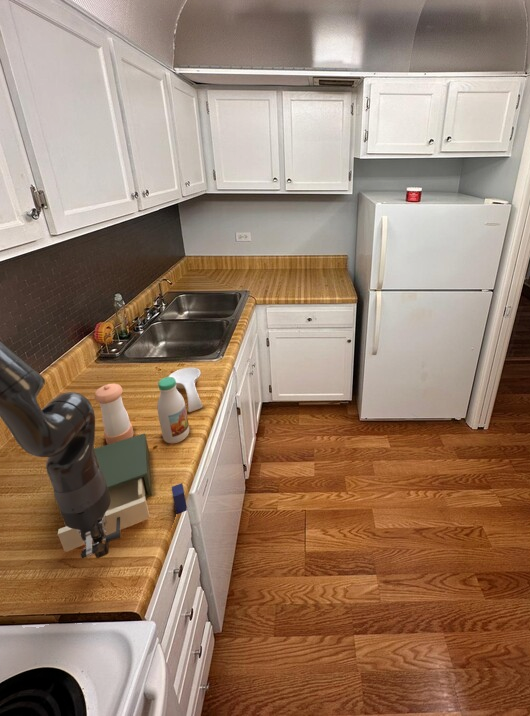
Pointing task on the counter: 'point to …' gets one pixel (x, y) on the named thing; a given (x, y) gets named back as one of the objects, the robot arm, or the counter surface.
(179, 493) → the blue block with post
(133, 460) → the cabinet
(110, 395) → the salt shaker
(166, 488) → the counter surface
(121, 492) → the drawer
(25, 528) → the counter surface
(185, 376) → the white curved piece
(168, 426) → the milk bottle
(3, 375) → the robot arm
